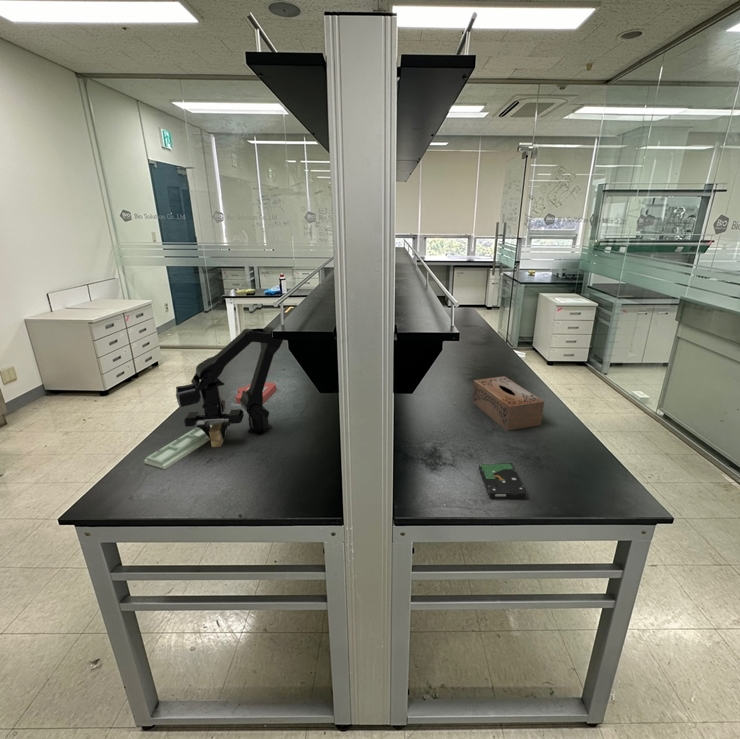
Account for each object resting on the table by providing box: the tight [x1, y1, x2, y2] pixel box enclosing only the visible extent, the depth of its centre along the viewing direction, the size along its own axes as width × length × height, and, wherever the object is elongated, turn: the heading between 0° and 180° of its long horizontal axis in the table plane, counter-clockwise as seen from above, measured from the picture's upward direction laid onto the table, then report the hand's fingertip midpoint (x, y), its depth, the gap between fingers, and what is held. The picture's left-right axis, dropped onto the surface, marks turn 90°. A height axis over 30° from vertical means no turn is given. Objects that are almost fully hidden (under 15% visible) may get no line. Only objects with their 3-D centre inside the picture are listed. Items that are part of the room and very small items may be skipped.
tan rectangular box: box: [209, 422, 225, 448], centre depth 147 cm, size 3×6×6 cm, turn 6°
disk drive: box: [478, 462, 528, 500], centre depth 123 cm, size 10×3×15 cm
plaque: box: [235, 381, 277, 405], centre depth 184 cm, size 18×4×15 cm
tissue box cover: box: [471, 375, 545, 432], centre depth 164 cm, size 26×14×10 cm, turn 16°
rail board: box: [143, 424, 213, 470], centre depth 145 cm, size 9×25×3 cm, turn 156°
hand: (218, 439), depth 147 cm, fingers open, 4 cm apart
